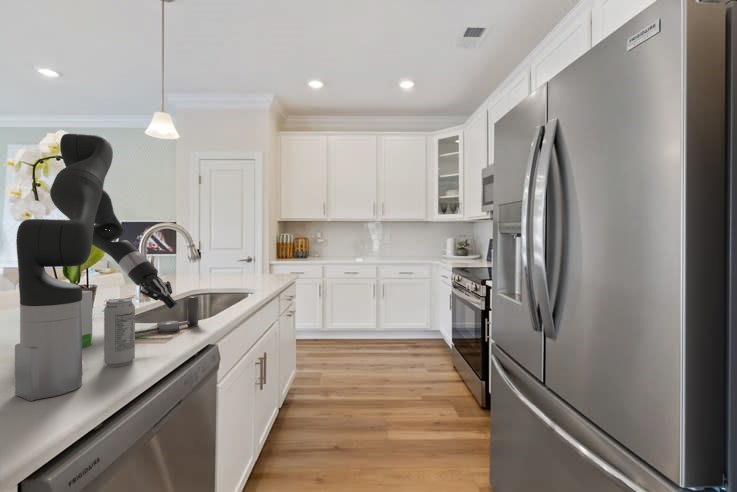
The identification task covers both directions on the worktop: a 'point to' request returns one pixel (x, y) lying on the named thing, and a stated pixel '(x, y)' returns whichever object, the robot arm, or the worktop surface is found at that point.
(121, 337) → the energy drink can
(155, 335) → the tuner board
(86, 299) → the skincare box
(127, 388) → the worktop surface
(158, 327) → the tuning peg
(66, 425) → the worktop surface
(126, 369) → the worktop surface
